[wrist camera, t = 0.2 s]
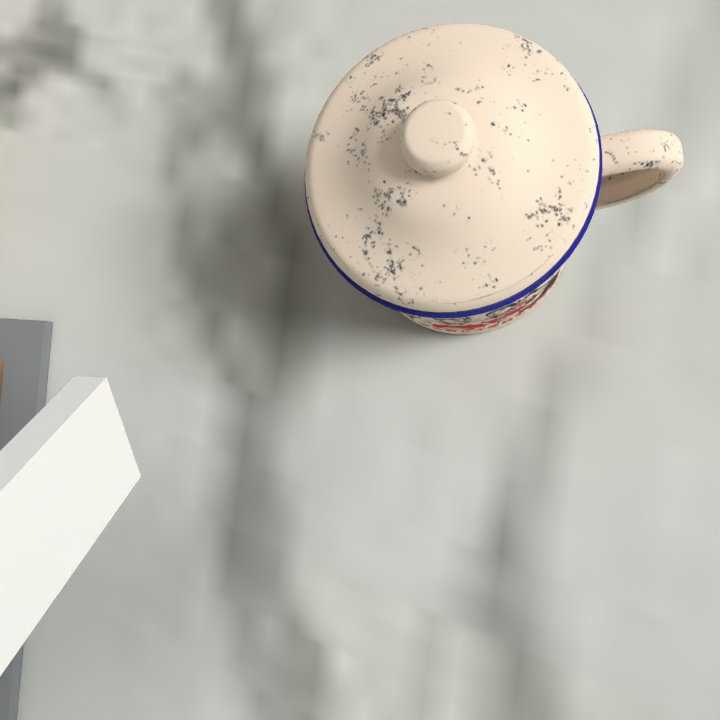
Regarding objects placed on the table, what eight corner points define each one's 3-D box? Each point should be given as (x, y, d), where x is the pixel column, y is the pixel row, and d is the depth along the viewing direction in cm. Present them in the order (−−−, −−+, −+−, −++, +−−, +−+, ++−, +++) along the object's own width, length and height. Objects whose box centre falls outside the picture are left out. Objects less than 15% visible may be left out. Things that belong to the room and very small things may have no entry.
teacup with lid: (375, 356, 30) (291, 328, 19) (349, 154, 31) (252, 10, 19) (668, 312, 28) (777, 250, 16) (631, 94, 28) (710, -111, 17)
